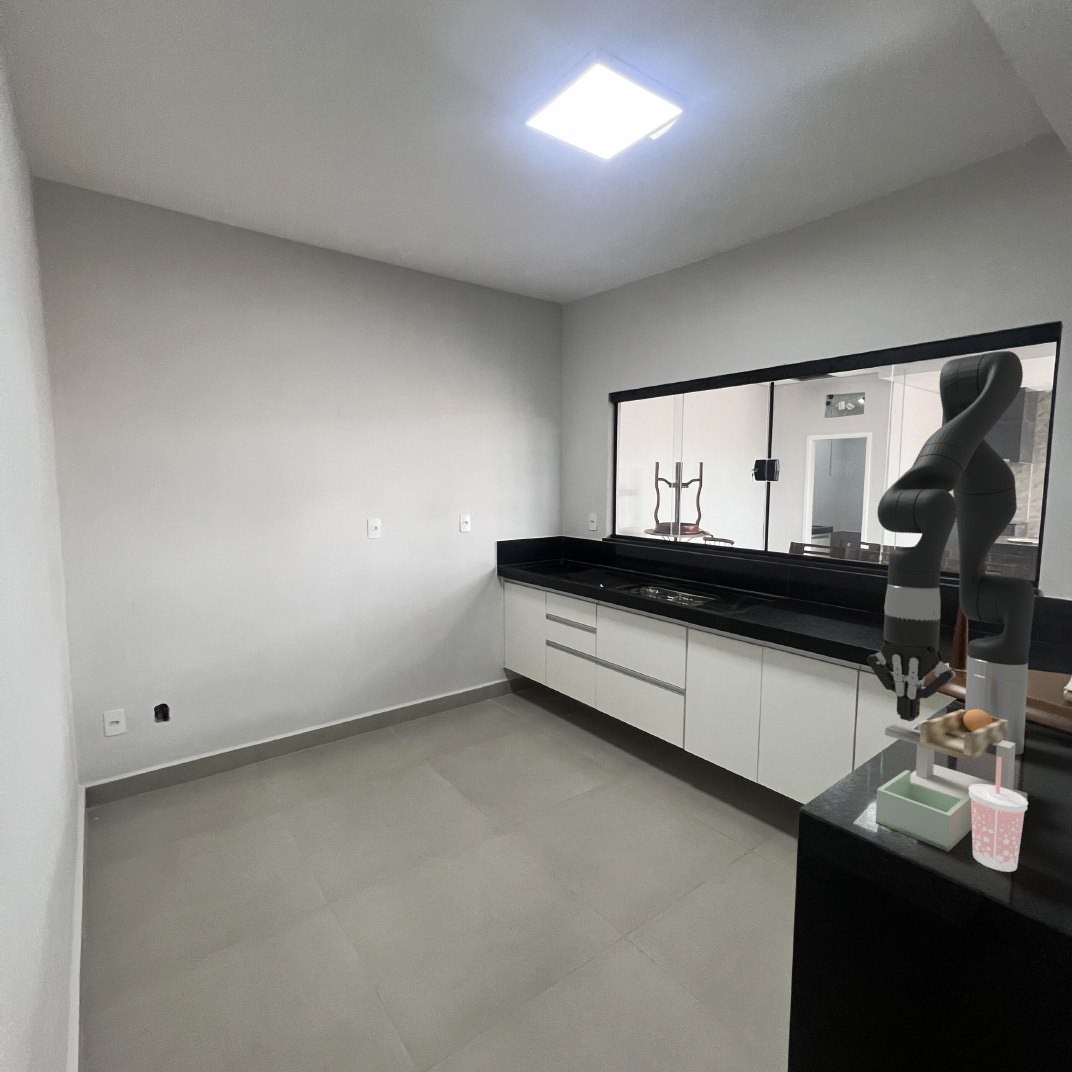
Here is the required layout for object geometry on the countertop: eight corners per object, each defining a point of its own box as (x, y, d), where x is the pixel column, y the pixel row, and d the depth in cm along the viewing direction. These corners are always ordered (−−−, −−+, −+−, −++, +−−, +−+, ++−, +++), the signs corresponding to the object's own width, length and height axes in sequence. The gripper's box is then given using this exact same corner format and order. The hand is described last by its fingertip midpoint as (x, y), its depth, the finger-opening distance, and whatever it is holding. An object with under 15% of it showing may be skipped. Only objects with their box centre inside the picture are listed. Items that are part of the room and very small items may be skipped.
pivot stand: (927, 767, 104) (929, 712, 104) (1027, 799, 93) (1030, 738, 93) (899, 787, 97) (901, 728, 96) (1003, 824, 86) (1007, 757, 85)
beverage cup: (1025, 859, 77) (1030, 756, 76) (1023, 882, 73) (1029, 772, 72) (968, 841, 81) (972, 743, 81) (963, 861, 77) (967, 757, 76)
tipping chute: (926, 727, 107) (928, 701, 107) (1012, 750, 97) (1014, 722, 97) (884, 743, 96) (886, 714, 96) (976, 771, 86) (978, 738, 86)
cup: (906, 799, 93) (908, 768, 93) (976, 824, 86) (977, 791, 85) (875, 822, 86) (876, 789, 86) (948, 851, 79) (949, 815, 79)
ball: (964, 733, 100) (969, 712, 102) (992, 741, 97) (998, 719, 98) (957, 724, 98) (963, 702, 99) (986, 731, 95) (992, 709, 96)
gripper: (969, 617, 91) (964, 726, 92) (878, 605, 101) (874, 703, 102) (951, 623, 86) (946, 737, 87) (858, 609, 97) (854, 712, 98)
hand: (907, 719), depth 95 cm, fingers closed
